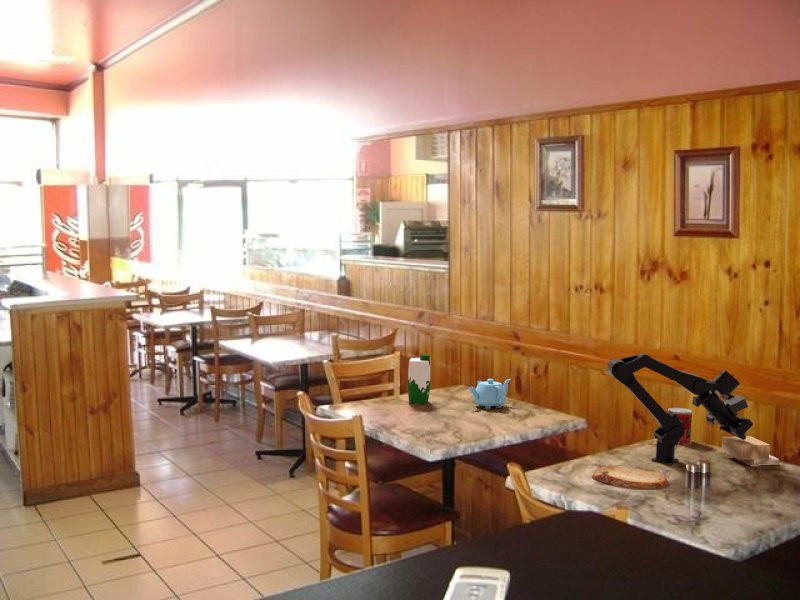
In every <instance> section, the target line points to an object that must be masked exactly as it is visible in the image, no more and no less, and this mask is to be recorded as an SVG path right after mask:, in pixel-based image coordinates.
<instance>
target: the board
mask: <svg viewBox="0 0 800 600" xmlns="http://www.w3.org/2000/svg"><path fill="white" fill-rule="evenodd" d="M728 455H729V457H730V456H731V458H732V457H733V459H734V458H735V459H734V460H736V459H737V461H738V460H739V462H740V461H742V462H744V463H746V464H748V465H759V464H779V465H780V459H779V458H777V457H776V456H774V455H771V454H769V459H744V460H740V459H738V458H736V457H734V456H732V455H730V454H728V453H727V456H728ZM742 462H741V463H742ZM744 463H743V464H744ZM746 464H745V465H746ZM748 465H747V466H748Z"/></svg>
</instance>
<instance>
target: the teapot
mask: <svg viewBox="0 0 800 600" xmlns="http://www.w3.org/2000/svg"><path fill="white" fill-rule="evenodd" d="M476 381H477V382H476V384H477V385H476V388H474V386H470V387H469V388H468V391H469V392H470V393H471V394H472V396H473V401H474V402H475V404H476V405H477V407H484V409H485V410H490V409H491V407H495V408H497V409H501V408H503V407H502V406H503V405H504V404H505V403H506V401H507V394H508V387H509V386H508V384H509V382H510V381H511V378H508V379H505V380H504V383H503V384H502V383H501V382H498V381H494V379H493V378H488V379H487V381H482V380H476Z"/></svg>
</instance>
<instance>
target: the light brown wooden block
mask: <svg viewBox="0 0 800 600" xmlns="http://www.w3.org/2000/svg"><path fill="white" fill-rule="evenodd" d="M745 436H746V439H745V440H742V439H740V438H738V437H736V436H722V437H721V439H722V440H721V451H723V452H724V453H726V454H727V455H728V454H730V455H732V456H734V457H736V458H738V459H740V460H744V459H769V455H770V451H771V449H770V448H771V444H769V443H766V442H765V441H762V440H760V439H757V438H755V437H753V436H751V435H748V436H747V435H745Z"/></svg>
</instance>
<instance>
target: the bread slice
mask: <svg viewBox="0 0 800 600" xmlns="http://www.w3.org/2000/svg"><path fill="white" fill-rule="evenodd" d="M591 479H593V481H596V482H600V483H602V484H605V485H610V486H616V487H619V488H620V487H621V488H629V489H630V488H631V489H661V488H666V487H668V486H669V485H670V482H669V480H668V478H667V477H666V475H663V474H662V473H659V472H653V471H649V470H643V469H639V468H638V469H637V468H630V467H624V466H623V467H622V466H618V465H612V464H608V465H605V466H602V467H599V468H598V469H596V470H595V471H594V472H593V474H592V475H591Z"/></svg>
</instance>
